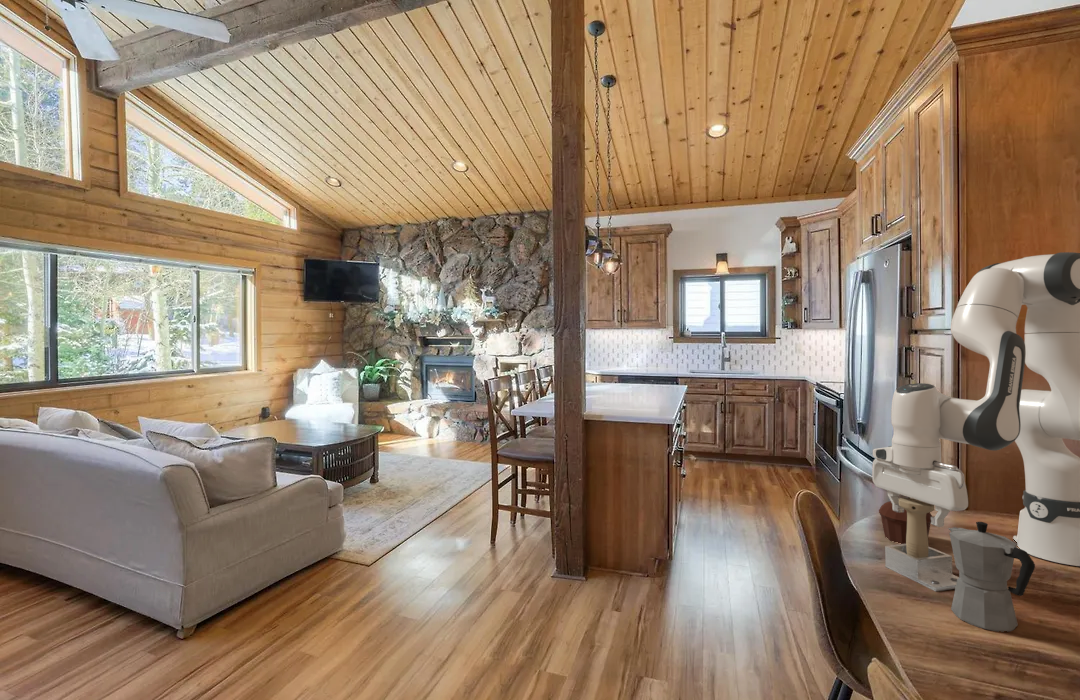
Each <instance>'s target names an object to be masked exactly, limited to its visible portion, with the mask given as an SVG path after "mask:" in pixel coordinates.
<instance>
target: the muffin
mask: <svg viewBox="0 0 1080 700" xmlns="http://www.w3.org/2000/svg"><path fill="white" fill-rule="evenodd" d="M878 514H879V515H880V518H881V523H882V524H881V525H882V529H883V534H884V538H886V537H887V538H888V539H887V538H886V539H887V540H889V542H892V541H894V542H893V543H895V542H898V543H901V544H906V534H907V511H906V510H905V509H904V512H900V513H899V512H896V511H893V509H892V502H891V501H890V500H889V501H887V502H884V503H883V504H882V505H881V506H880V508H879V509H878ZM931 517H933V515H932V512H929V513H927V514H926V526H927V536H928V537H929V533H930V528H931V525H932V524H931ZM898 543H897V544H898Z"/></svg>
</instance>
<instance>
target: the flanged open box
mask: <svg viewBox="0 0 1080 700" xmlns="http://www.w3.org/2000/svg"><path fill="white" fill-rule="evenodd" d="M884 552H885V553H884V555H885V556H884V557H885V558H884V559H885V562H884V565H885V568H887V569H889V570H891V571H893V572H895V573H898V574H899V575H901V576H904V577H905V578H908V579H910V580H911V581H914V582H915V583H917V584H919V585H921V586H924V587H926V588H927V589H929V590H932V591H934V592H942V591H949V590H955V588H956V583H957V579H958V578H959V576H957V575H954V574H953V556H952V555H951V554H949V553H946V552H943V551H940V550H938V549H936V548H933V547H930V546H928V557H924V558H915V557H913V556H910V555H908V554H907V549H906V544H898V543H897V544H890V545H885V546H884Z"/></svg>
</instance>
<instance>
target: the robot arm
mask: <svg viewBox="0 0 1080 700" xmlns="http://www.w3.org/2000/svg"><path fill="white" fill-rule="evenodd" d="M1024 305H1025V306H1026V308H1027V309H1026V315H1025V321H1024V338H1023V337H1022V336H1021V335H1019V334H1017V328H1016V327H1017V323H1018V319H1019V316H1020V312H1021V309H1022V306H1024ZM950 332H951V335H952V336H953V338H954V339H955V341H956V342H957V343H958V344H960V345H961V346H962V347H964V348H965V349H967V350H970V351H972V352H975V353H976V354H979V355H982V356H984V357H986V358H987V360H988V361H989V371H988V375H987V376H988V377H987V383H986V390H985V395H984V396H983V397H982V398H981V399H978V400H974V399H965V398H956V397H951V396H949V395H947V394H945V393H942V392H941V391H939V390H938V389H937V387H936V385H934V384H930V383H921V382H920V383H908V384H903V385H901V386H899V387H897V388H896V389H895V390H894V392H893V395H892V398H891V399H892V400H891V410H890V415H891V416H890V417H891V419H890V423H891V426H892V429H893V435H892V438H891V445H889V446H884V447H879V448H874V449H872V457H873V458H875V459H873V461H872V472H871V473H872V474H871V475H872V477H871V478H872V482H873V485H874V486H875V487H876V488H879V489H881V490H885V491H887V496H888V499H889V501H891V502H892V509H893V511H896V512H899V513H900V512H904V508H902V507H901V506H899V499H900V497H899V496H905V498H912V499H916V500H919V501H922V502H925V503H928V504H932V505H934V506H935V508H934V511H937V512H936V514H935V515H932V517H931V524H930V525H932V526H934V527H938V528H943V527H945V519H946V517H947V516H948V514H949V513H950V511H951V512H959V511H965V510H966V509H967V508H968V507H969V497H968V490H967V484H966V482H965V474H964V473H963V471H962V470H961V469H959V468H958V466H956V465H954V464H948V463H945V462H942V444H941V441H940V439H941V440H945V441H950V442H955V443H962V444H966V445H970V446H974V447H976V448H981V449H984V450H988V451H993V452H994V451H999V450H1002V449H1004V448H1006V447H1008V446H1010V445H1012V444H1013V443H1014V442H1015V444H1016V446H1017V447H1018V450H1019V452H1020V454H1021V457H1022V460H1023V466H1024V479H1025V489H1024V490H1023V491H1022V492H1023V494H1022V504H1023V506H1024V508H1022V509H1021V510H1020V511H1019V517H1018V526H1017V527H1018V528H1017V535H1013V537H1012V540H1013V539H1014V540H1015V541H1016V542H1017V543H1016V542H1015V541H1014V540H1013V541H1014V542H1015V543H1016V544H1017V546H1018V547H1019V548H1020V549H1022V550H1024V551H1026V552H1027V553H1028V555H1029V556H1033V557H1036V558H1039V559H1041V560H1042V559H1043V560H1046V561H1050V562H1053V563H1059V564H1063V565H1068V566H1069V565H1070V566H1076V567H1080V456H1078V455H1077V454H1075V453H1074V452H1072V451H1071V450H1070V449H1069V448H1068V447H1067V446H1066V443H1065V442H1064V440H1065V439H1066V440H1073V441H1080V252H1073V251H1072V252H1069V251H1068V252H1065V251H1064V252H1062V251H1061V252H1057V253H1053V254H1051V253H1050V254H1039V255H1032V256H1031V255H1030V256H1024V257H1022V258H1018V259H1013V260H1008V261H1005V262H1004V261H1003V262H997V263H993V264H989V265H987V266H985V267H983V268H981V269H979V270H978V271H977V272H976V274H974V275H973V276H972V278H971V279H970V281H969V283H968V284H967V286H966V287H965V289H964V290H963V293H962V295H961V296H960V299H959V301H958V302H957V305H956V307H955V311H954V313H953V316H952V318H951V322H950ZM1025 365H1026V367H1027V368H1028V369H1029V370H1031V371H1032V372H1034V373H1036V374H1037V375H1040V376H1042V377H1043V378H1044V379H1045V380H1046V381H1047V383H1048V384H1049V387H1050V390H1039V389H1025V388H1024V389H1023V381H1024V374H1025ZM1017 546H1016V547H1017ZM1018 547H1017V548H1018Z"/></svg>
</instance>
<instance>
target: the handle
mask: <svg viewBox="0 0 1080 700" xmlns="http://www.w3.org/2000/svg"><path fill="white" fill-rule="evenodd" d="M899 506H901V507H902V508H904V509H905V510H906V511H907V534H906V549H907V554H908V555H910V556H913V557H915V558H924V557H928V547H929V535H928V536H927V526H926V514H927V513H929V512H930V513H932V512H933V511H934V512H935V505H932V504H928V503H925V502H922V501H919V500H916V499H913V498H910V497H899Z"/></svg>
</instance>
